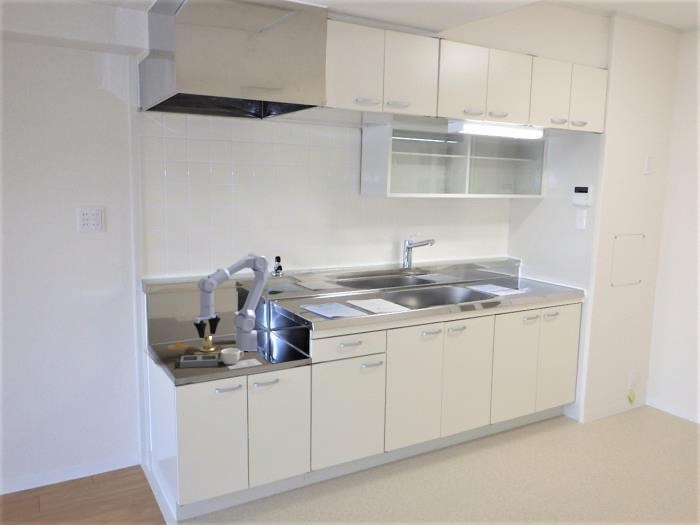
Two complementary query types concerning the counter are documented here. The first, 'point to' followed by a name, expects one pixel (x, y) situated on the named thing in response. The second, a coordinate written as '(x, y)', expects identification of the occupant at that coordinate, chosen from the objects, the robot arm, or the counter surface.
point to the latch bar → (178, 346)
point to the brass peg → (207, 344)
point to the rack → (199, 361)
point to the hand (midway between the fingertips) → (207, 335)
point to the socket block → (197, 352)
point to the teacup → (230, 355)
